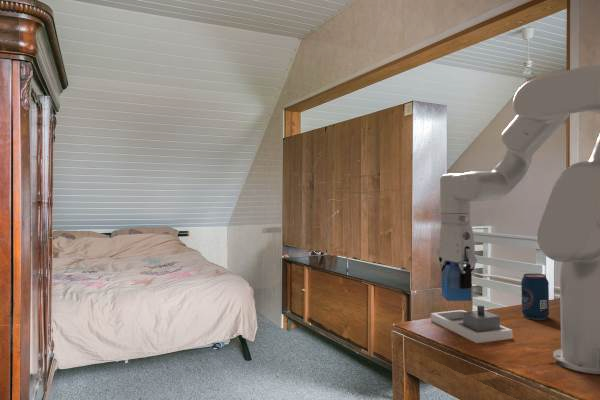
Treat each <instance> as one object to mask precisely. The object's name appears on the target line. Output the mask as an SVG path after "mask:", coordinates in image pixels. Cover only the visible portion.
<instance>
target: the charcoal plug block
mask: <svg viewBox="0 0 600 400" xmlns="http://www.w3.org/2000/svg"><path fill="white" fill-rule="evenodd" d="M476 306H477V310H473V311H467V312H463V326H464V327H466V328H468V329H470V330H473V331H475V332H477V333H479V332H488V331H496V330H500V325H501V321H500V315H497V314H495V313H492V312H489V311H486V310H485V306H484V305H476Z"/></svg>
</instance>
